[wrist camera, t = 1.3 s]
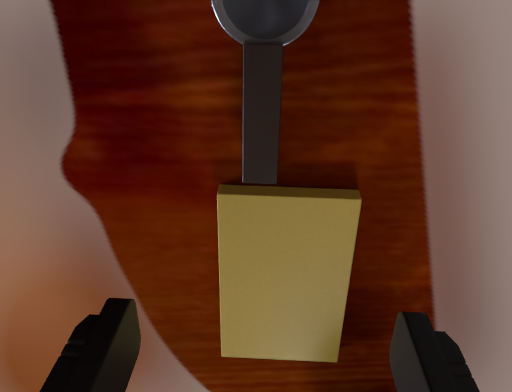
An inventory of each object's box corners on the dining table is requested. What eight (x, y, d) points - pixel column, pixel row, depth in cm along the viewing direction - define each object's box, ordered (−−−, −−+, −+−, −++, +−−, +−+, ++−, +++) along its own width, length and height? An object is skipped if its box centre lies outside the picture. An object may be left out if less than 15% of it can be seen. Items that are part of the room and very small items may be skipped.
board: (219, 184, 31) (216, 193, 30) (358, 189, 31) (362, 199, 30) (223, 343, 39) (221, 356, 38) (335, 349, 39) (337, 362, 37)
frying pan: (213, -71, 24) (204, -76, 21) (322, -69, 24) (327, -74, 21) (218, 161, 31) (212, 181, 28) (304, 164, 30) (306, 185, 28)
